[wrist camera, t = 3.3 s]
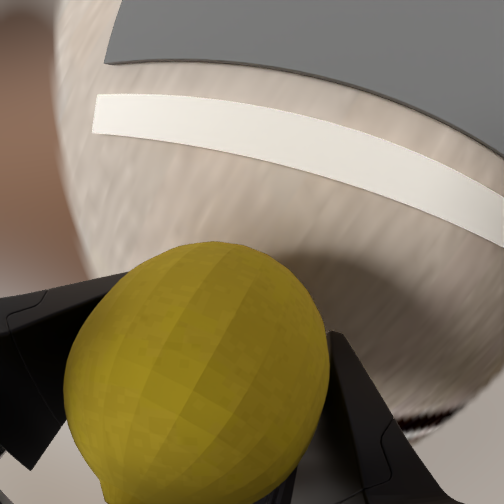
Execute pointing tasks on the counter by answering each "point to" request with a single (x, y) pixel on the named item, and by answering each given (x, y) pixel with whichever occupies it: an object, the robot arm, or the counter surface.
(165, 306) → the lemon
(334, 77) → the mat
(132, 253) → the counter surface
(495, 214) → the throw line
